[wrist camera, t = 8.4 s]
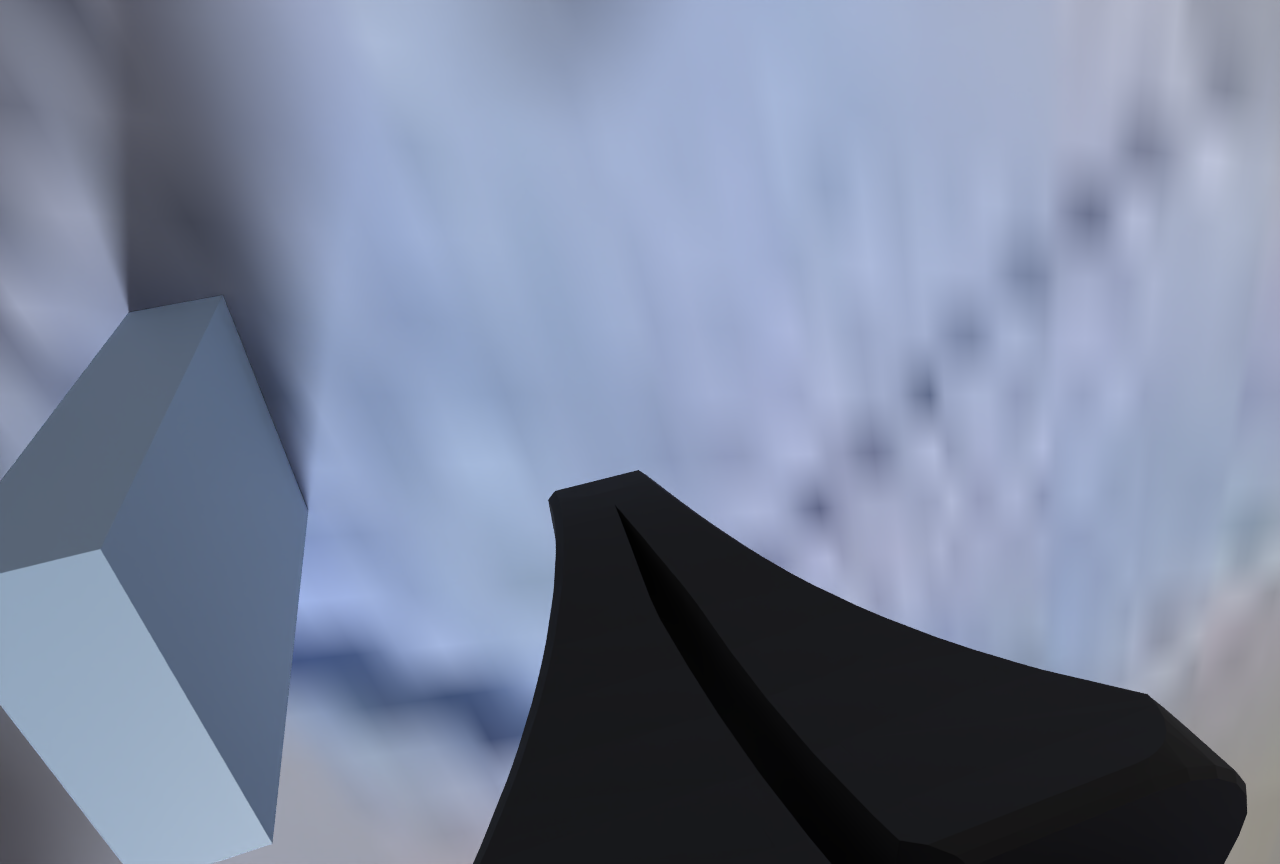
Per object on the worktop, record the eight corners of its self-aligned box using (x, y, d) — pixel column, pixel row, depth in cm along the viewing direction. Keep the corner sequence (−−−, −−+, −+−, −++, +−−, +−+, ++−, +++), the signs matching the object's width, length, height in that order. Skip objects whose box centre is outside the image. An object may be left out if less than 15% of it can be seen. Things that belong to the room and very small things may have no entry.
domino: (308, 511, 17) (271, 843, 10) (230, 530, 17) (140, 887, 10) (222, 295, 14) (99, 549, 8) (129, 312, 14) (-85, 594, 7)
